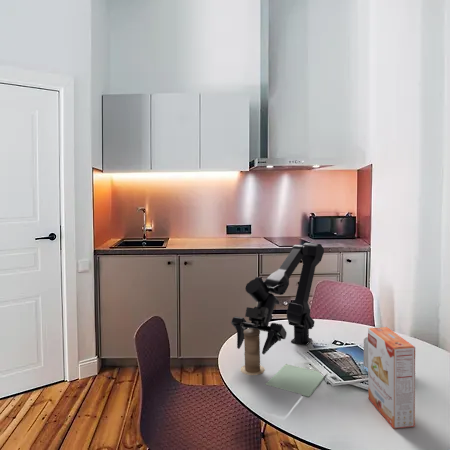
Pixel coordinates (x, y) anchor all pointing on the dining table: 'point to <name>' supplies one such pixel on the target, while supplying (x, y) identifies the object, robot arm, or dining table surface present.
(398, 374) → the cracker box
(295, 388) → the mat
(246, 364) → the canister
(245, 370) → the coaster
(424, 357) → the dining table surface
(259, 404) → the dining table surface
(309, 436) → the dining table surface
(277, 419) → the dining table surface
